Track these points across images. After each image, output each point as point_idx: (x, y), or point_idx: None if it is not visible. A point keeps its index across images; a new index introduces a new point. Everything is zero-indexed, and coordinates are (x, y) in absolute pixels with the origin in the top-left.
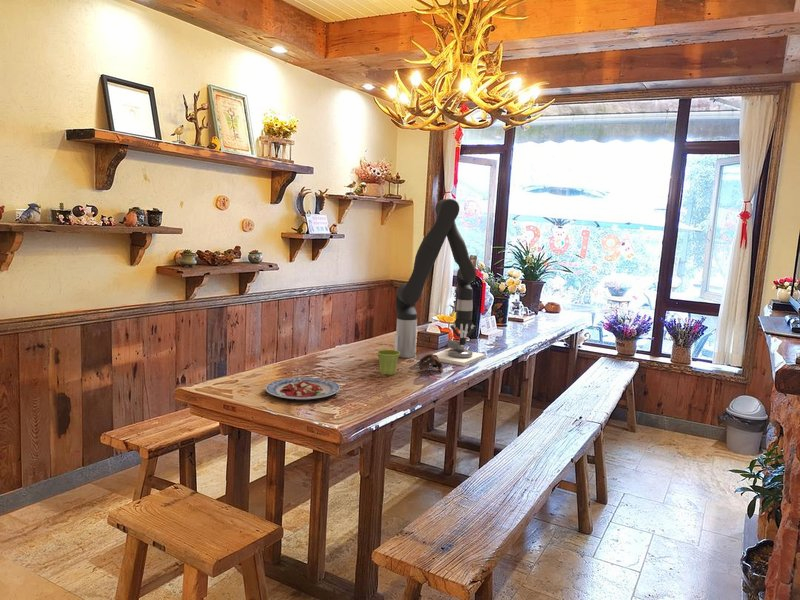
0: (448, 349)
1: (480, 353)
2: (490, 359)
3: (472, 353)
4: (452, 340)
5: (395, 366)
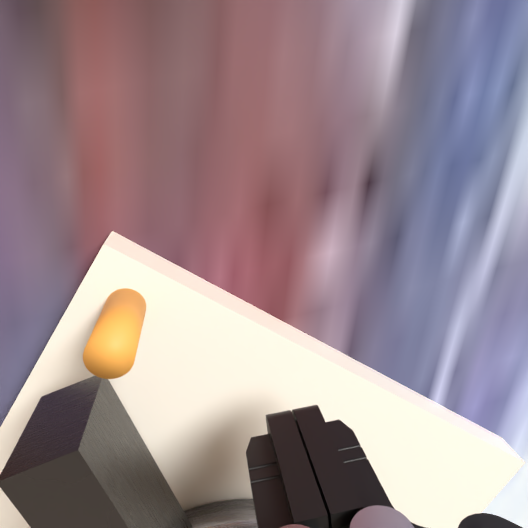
0: (78, 344)
1: (480, 448)
2: (522, 498)
3: (387, 474)
4: (108, 514)
5: None
